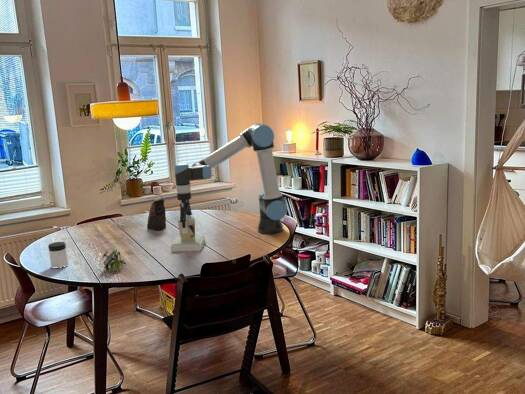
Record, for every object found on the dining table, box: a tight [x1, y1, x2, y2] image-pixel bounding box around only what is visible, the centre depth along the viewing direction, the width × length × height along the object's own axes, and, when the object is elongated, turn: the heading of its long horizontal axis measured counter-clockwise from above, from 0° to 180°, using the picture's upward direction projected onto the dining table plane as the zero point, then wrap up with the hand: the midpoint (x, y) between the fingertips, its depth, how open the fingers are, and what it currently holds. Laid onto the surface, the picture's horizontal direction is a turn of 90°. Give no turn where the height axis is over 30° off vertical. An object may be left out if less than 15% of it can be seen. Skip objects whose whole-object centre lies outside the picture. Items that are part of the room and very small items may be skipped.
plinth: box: [170, 235, 206, 253], centre depth 280 cm, size 16×16×4 cm
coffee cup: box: [177, 216, 196, 242], centre depth 278 cm, size 9×9×12 cm
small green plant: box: [102, 249, 127, 274], centre depth 249 cm, size 11×11×12 cm
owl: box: [146, 195, 167, 232], centre depth 320 cm, size 13×13×20 cm
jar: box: [48, 241, 69, 268], centre depth 257 cm, size 9×8×12 cm
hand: (187, 230), depth 278 cm, fingers open, 13 cm apart
